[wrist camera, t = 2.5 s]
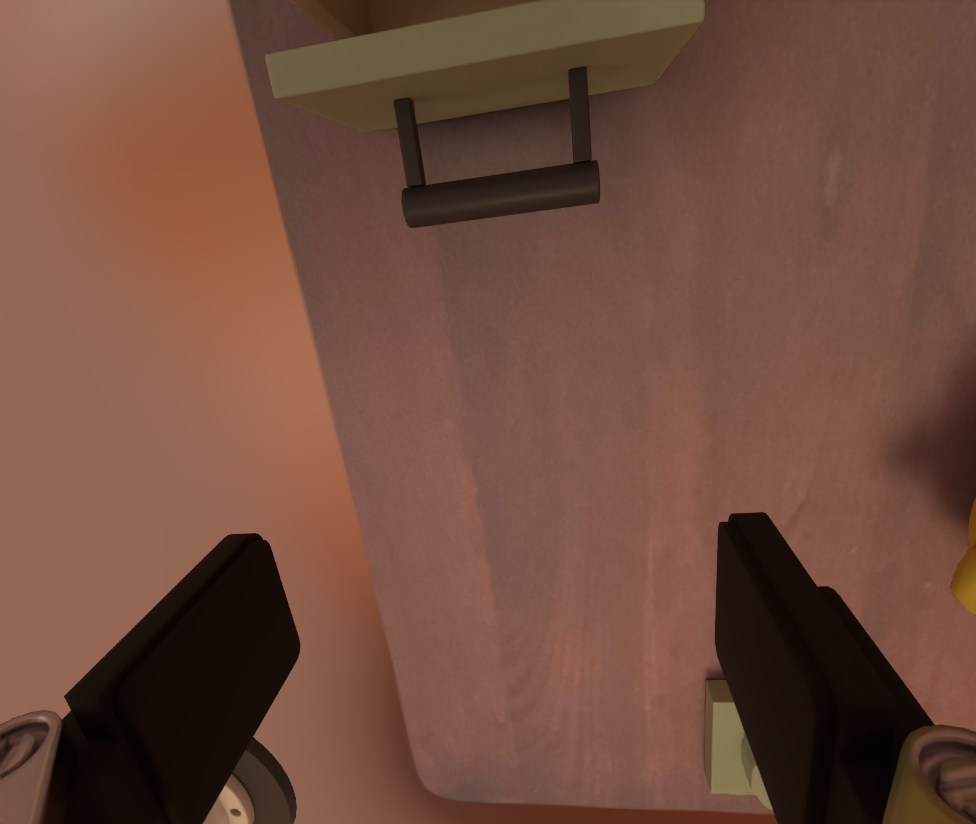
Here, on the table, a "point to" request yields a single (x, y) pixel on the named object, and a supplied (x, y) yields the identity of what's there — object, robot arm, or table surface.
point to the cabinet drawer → (479, 81)
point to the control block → (728, 747)
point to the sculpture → (967, 570)
